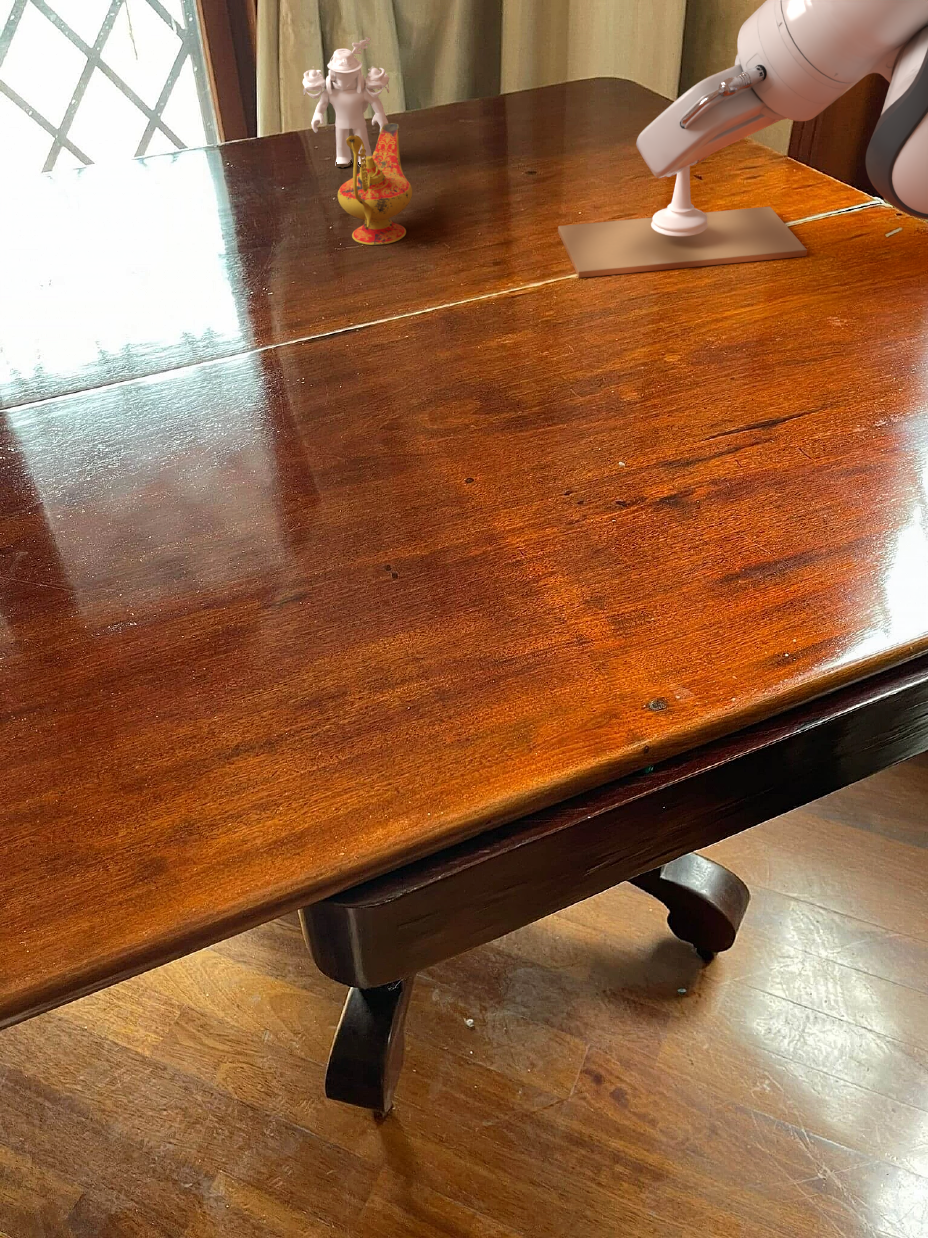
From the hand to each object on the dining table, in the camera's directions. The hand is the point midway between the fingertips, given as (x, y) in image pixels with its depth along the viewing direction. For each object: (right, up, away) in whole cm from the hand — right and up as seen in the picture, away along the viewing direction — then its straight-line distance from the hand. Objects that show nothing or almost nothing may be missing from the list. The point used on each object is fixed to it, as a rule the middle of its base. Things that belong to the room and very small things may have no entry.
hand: (678, 161), depth 93 cm
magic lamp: (-26, -2, +11) cm, 28 cm away
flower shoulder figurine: (-30, +10, +24) cm, 40 cm away
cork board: (+1, -5, +5) cm, 7 cm away
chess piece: (+1, -4, +3) cm, 6 cm away
